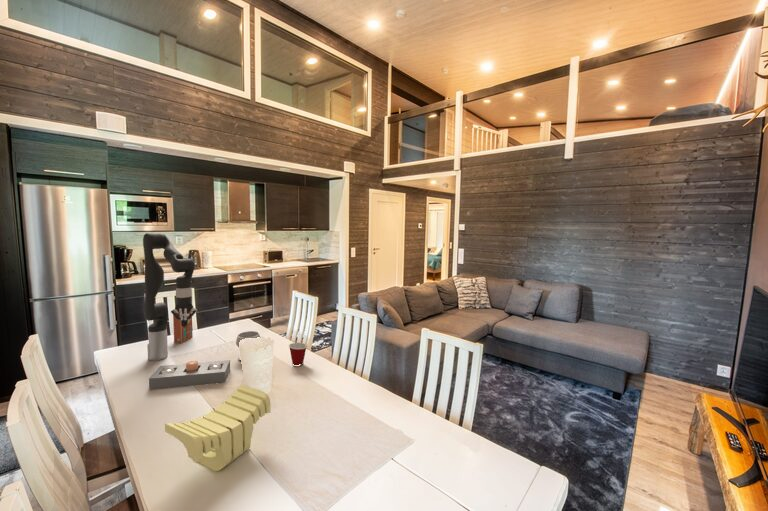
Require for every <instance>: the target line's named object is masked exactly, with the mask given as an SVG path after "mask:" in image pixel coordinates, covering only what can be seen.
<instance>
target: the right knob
mask: <svg viewBox="0 0 768 511" xmlns="http://www.w3.org/2000/svg"><path fill="white" fill-rule="evenodd" d="M214 369H221V364H213V365H210V366H209V370H214Z"/></svg>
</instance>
